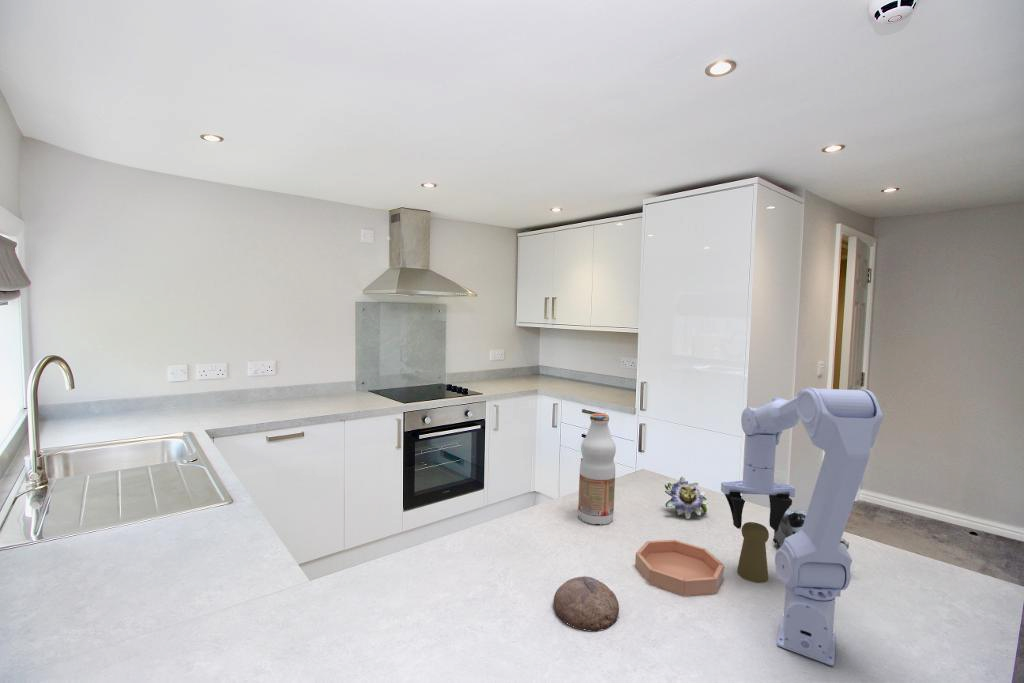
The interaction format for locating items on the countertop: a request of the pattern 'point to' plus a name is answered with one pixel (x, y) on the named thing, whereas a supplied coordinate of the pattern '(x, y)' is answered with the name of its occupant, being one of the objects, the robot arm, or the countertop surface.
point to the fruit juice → (597, 473)
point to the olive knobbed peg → (753, 553)
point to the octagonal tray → (679, 567)
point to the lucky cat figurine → (793, 527)
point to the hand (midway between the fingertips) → (755, 527)
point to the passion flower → (686, 498)
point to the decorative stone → (586, 604)
